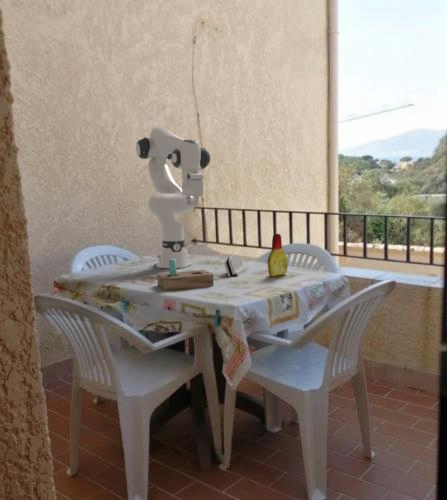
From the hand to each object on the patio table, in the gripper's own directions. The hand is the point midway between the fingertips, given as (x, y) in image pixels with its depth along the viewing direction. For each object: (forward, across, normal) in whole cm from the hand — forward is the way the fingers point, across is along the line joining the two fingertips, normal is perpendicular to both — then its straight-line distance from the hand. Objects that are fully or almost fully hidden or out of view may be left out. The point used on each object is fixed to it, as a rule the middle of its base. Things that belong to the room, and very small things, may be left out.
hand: (192, 205), depth 238 cm
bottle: (+34, +13, +37) cm, 52 cm away
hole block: (+34, +14, -9) cm, 38 cm away
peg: (+34, +14, -14) cm, 40 cm away
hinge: (+34, -2, +22) cm, 41 cm away
